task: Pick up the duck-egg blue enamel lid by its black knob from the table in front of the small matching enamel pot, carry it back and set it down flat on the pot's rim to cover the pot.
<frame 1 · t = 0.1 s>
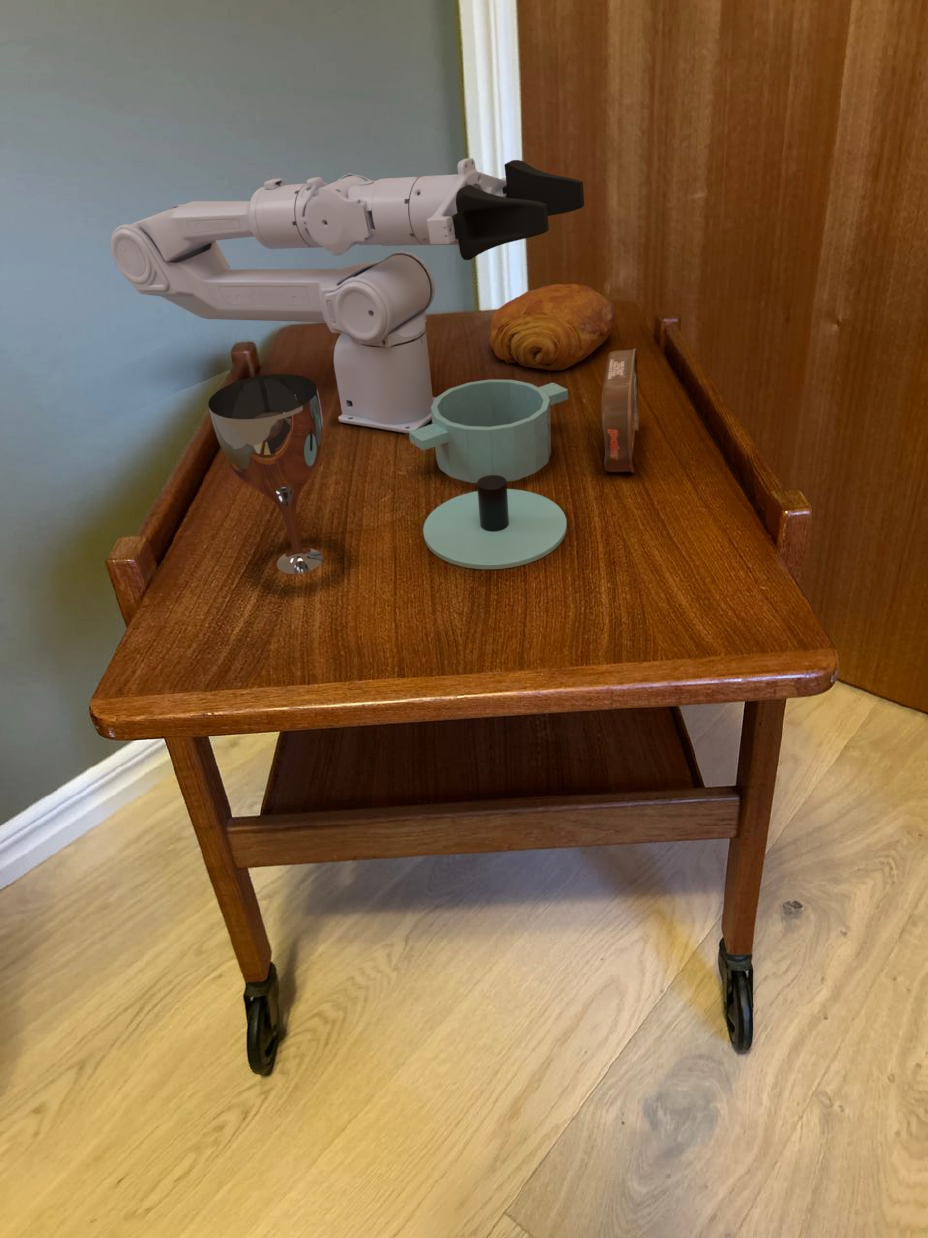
hand: (564, 205, 76), 22 cm above the table, tool horizontal, fingers open, 7 cm apart
lid: (494, 529, 76), point 1 cm above the table
croissant: (551, 349, 109), on the table
tin: (620, 452, 87), on the table
wine glass: (301, 568, 75), on the table
pot: (493, 460, 87), on the table
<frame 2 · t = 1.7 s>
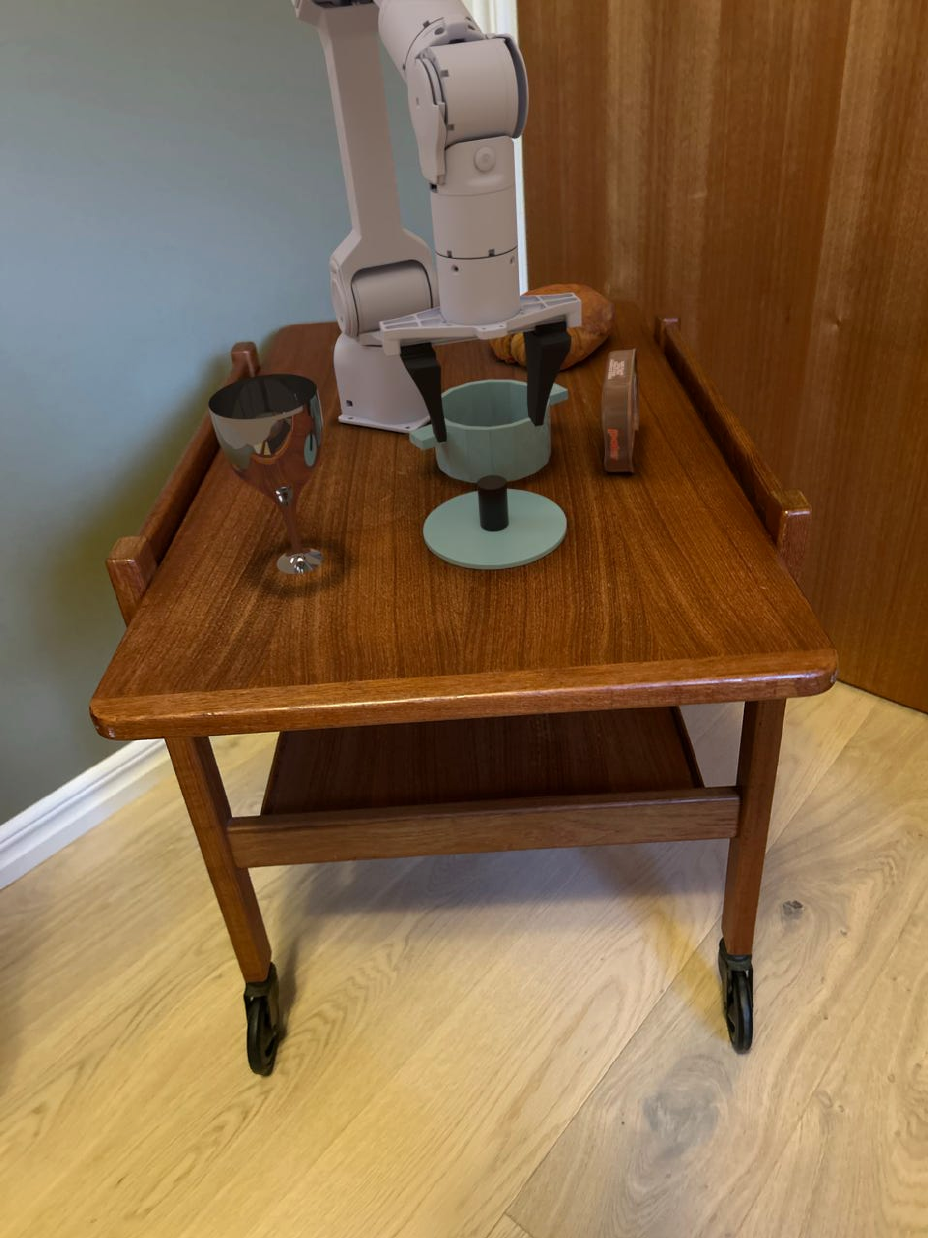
hand: (488, 428, 71), 10 cm above the table, tool pointing down, fingers open, 7 cm apart
nothing on the table moved.
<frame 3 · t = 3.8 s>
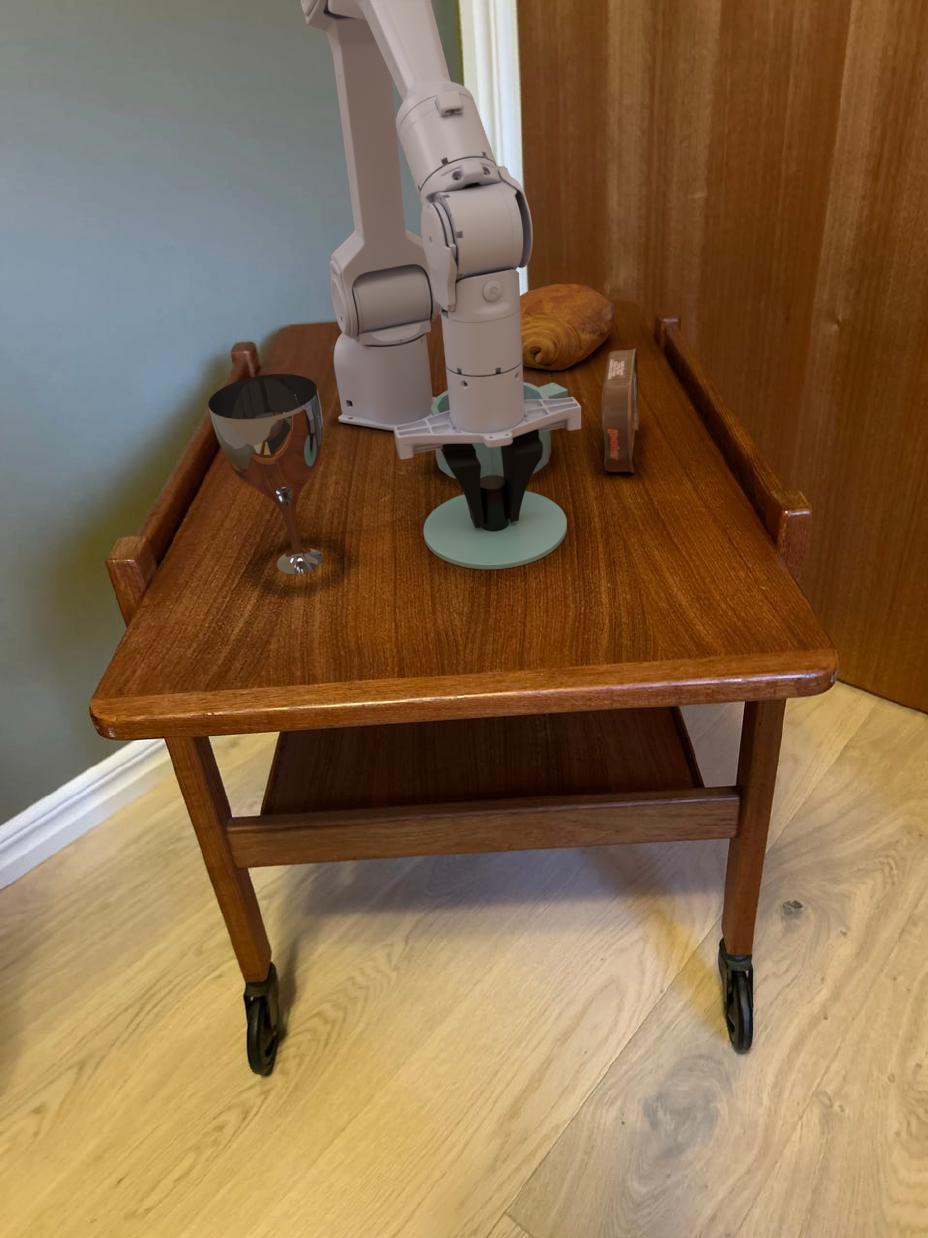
hand: (494, 518, 76), 2 cm above the table, tool pointing down, fingers closed on lid, 2 cm apart
lid: (495, 529, 76), point 1 cm above the table, touching gripper
everything else where it was.
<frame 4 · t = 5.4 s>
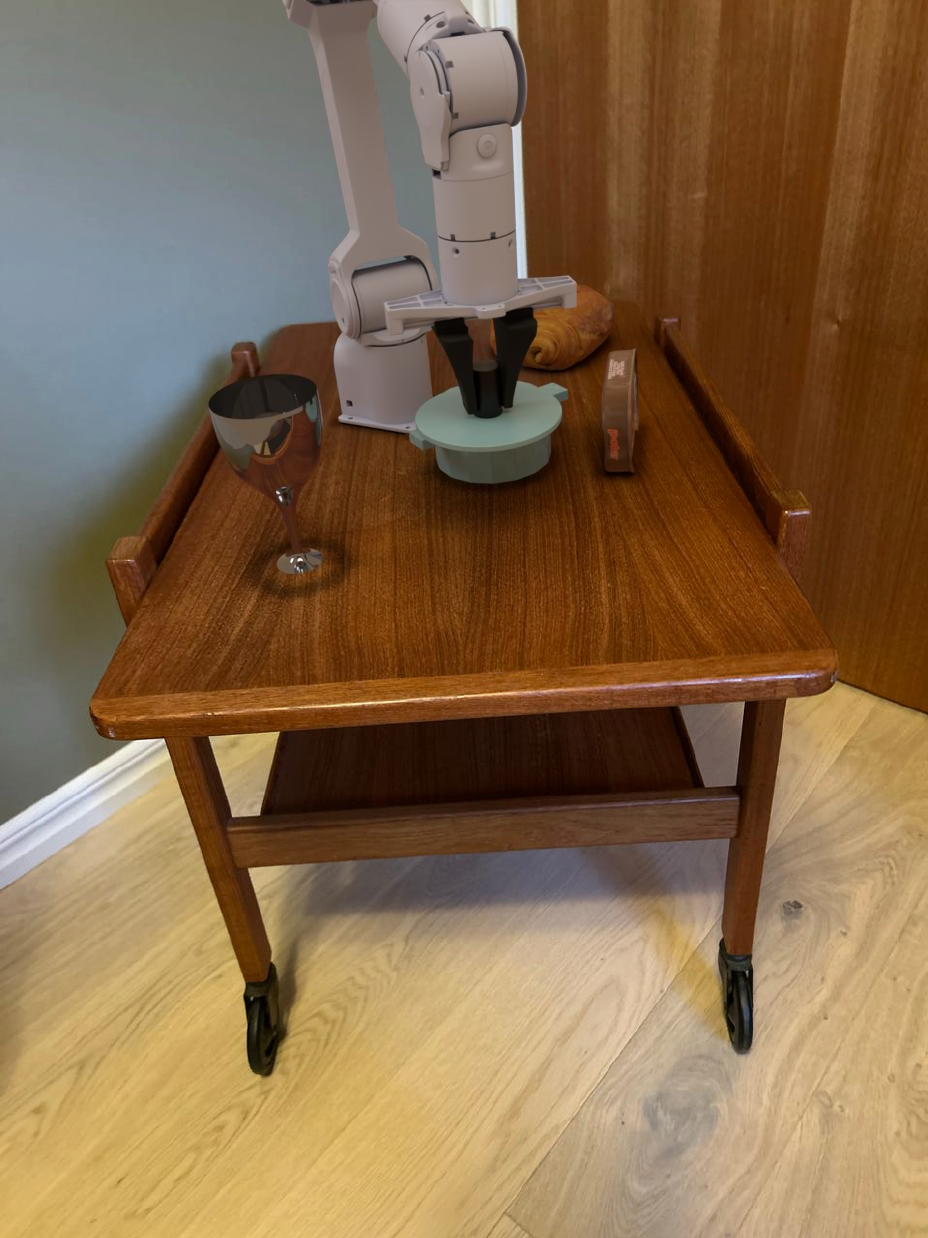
hand: (487, 406, 74), 10 cm above the table, tool pointing down, fingers closed on lid, 2 cm apart
lid: (488, 418, 75), point 9 cm above the table, touching gripper
everything else where it was.
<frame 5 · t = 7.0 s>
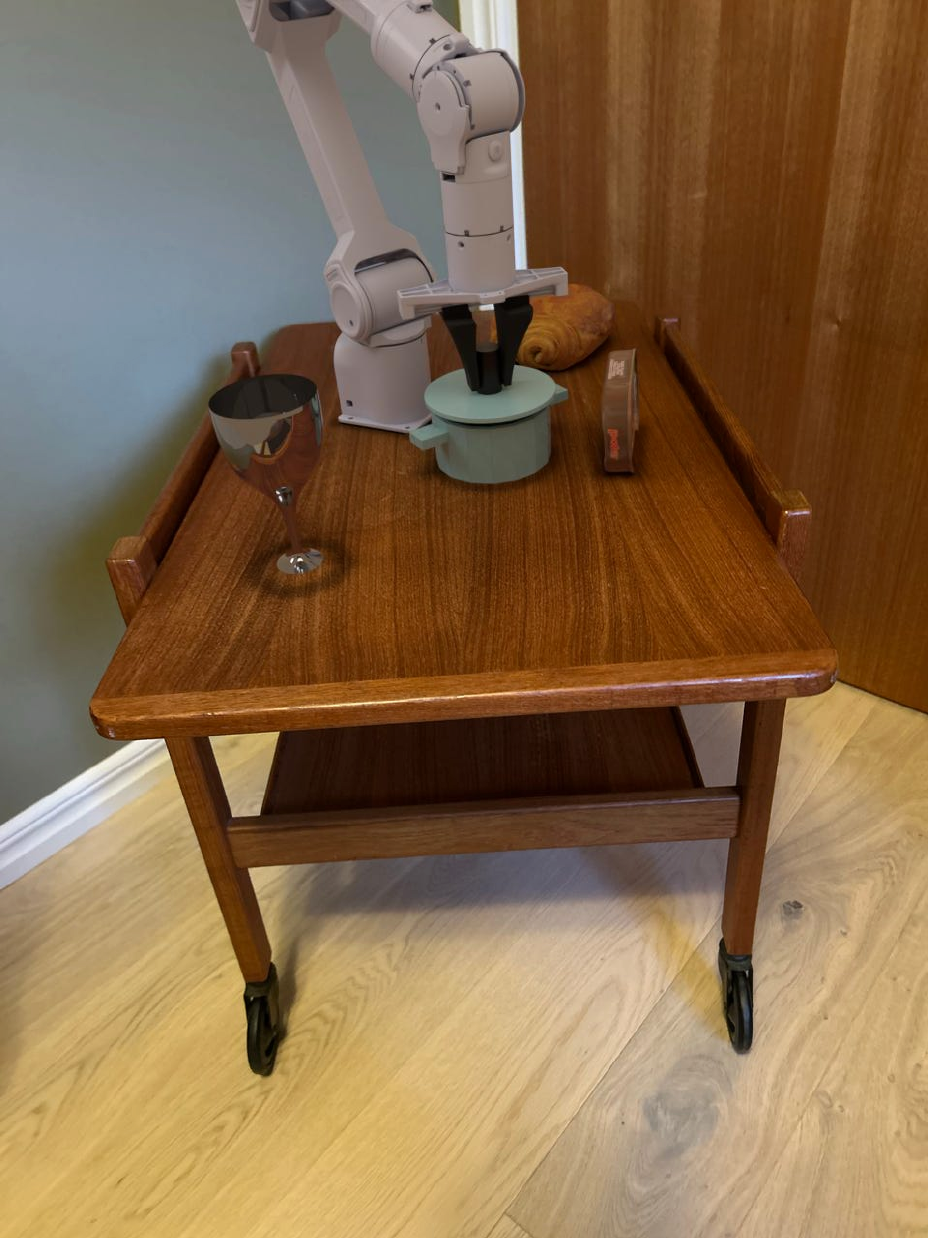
hand: (489, 384, 83), 8 cm above the table, tool pointing down, fingers closed on lid, 2 cm apart
lid: (489, 394, 83), point 7 cm above the table, touching gripper
everything else where it was.
when the fingers open (7 cm above the table, at t = 7.5 s): lid stays where it is, resting on pot.
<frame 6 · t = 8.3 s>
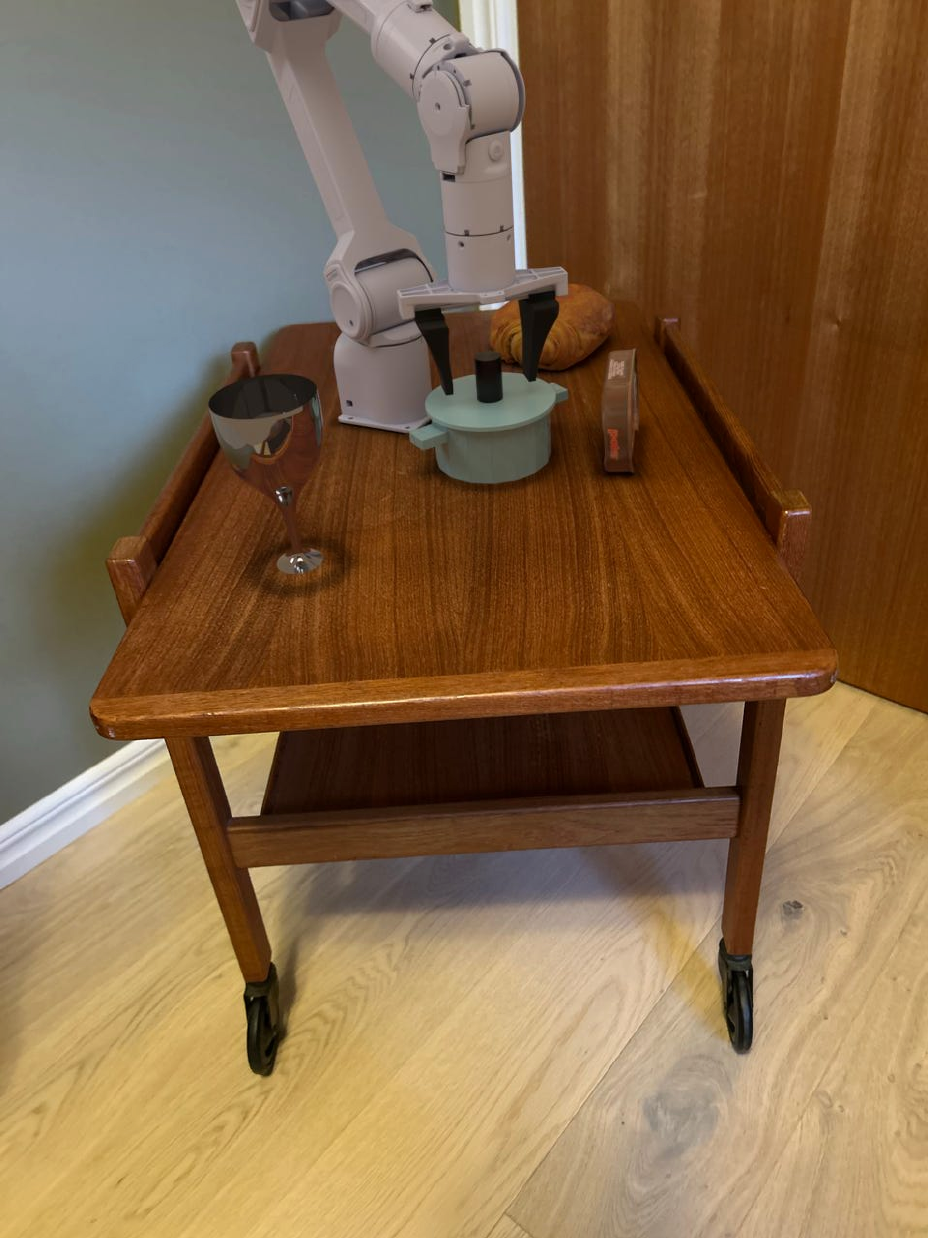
hand: (488, 384, 83), 8 cm above the table, tool pointing down, fingers open, 7 cm apart
lid: (490, 402, 84), point 6 cm above the table, touching pot
everything else where it was.
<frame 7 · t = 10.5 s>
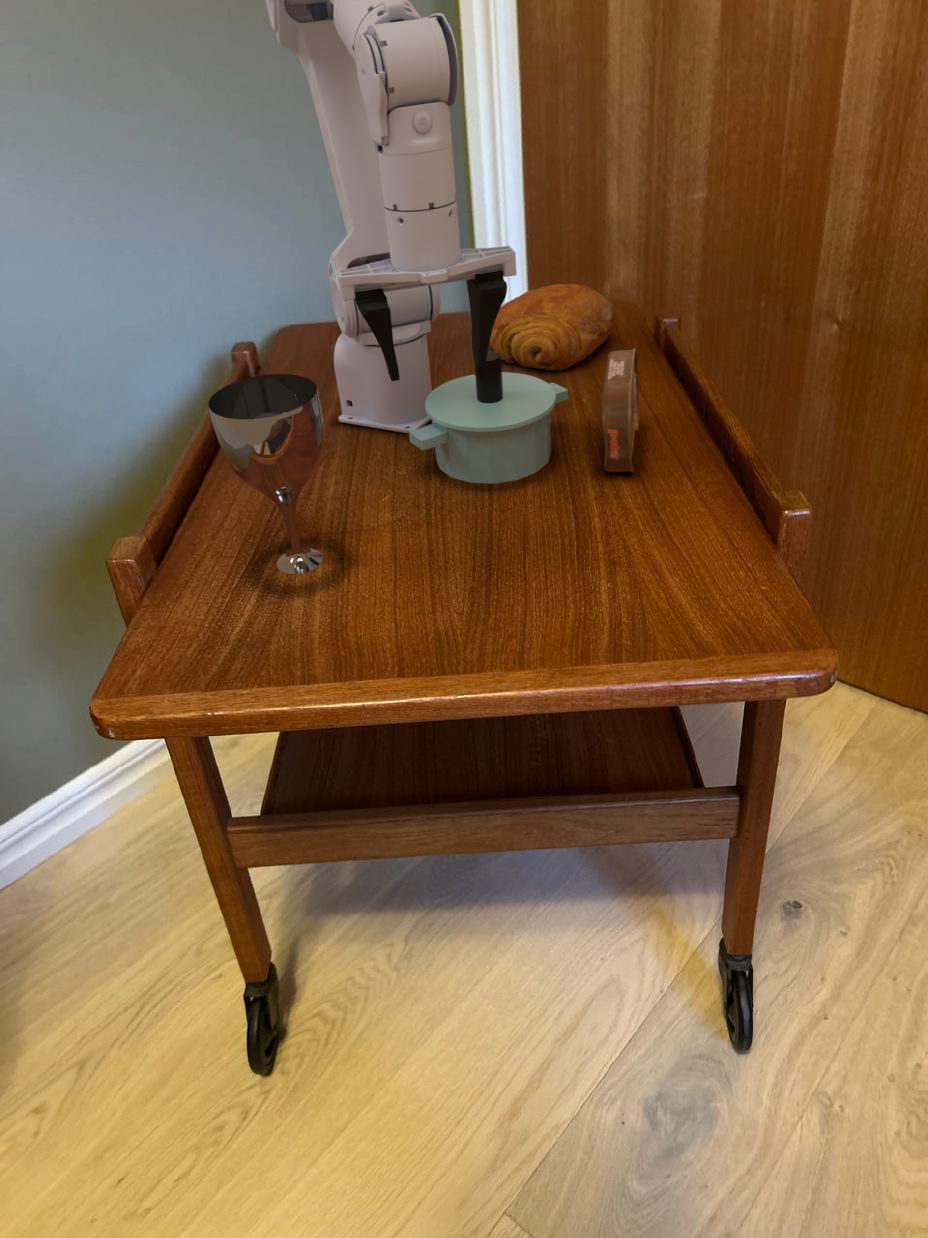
hand: (437, 369, 79), 10 cm above the table, tool pointing down, fingers open, 7 cm apart
nothing on the table moved.
at the end: lid 0.0 cm off-centre on the pot, point 5.9 cm above the pot's base; lid tilted 0°; the gripper is holding nothing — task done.
